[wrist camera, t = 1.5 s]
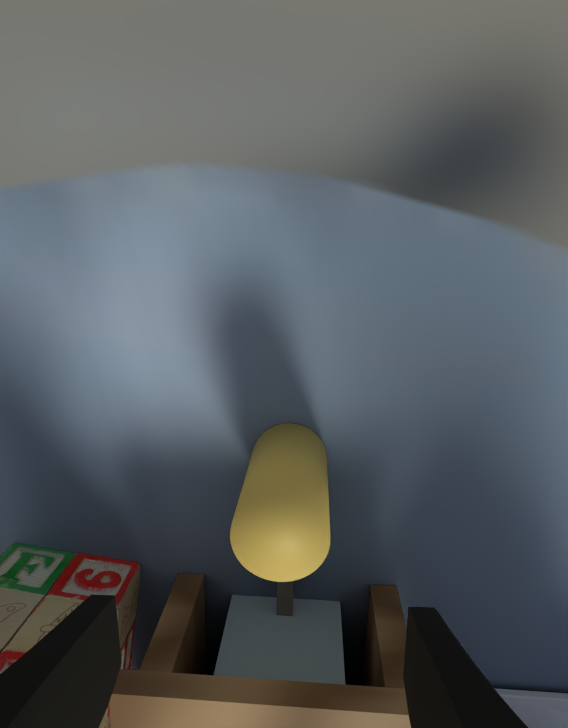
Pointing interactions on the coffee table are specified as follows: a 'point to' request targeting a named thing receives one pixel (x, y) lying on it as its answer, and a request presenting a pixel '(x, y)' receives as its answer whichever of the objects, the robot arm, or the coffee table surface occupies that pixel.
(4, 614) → the stack of blocks
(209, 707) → the open wooden box
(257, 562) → the cube joystick
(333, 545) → the coffee table surface
